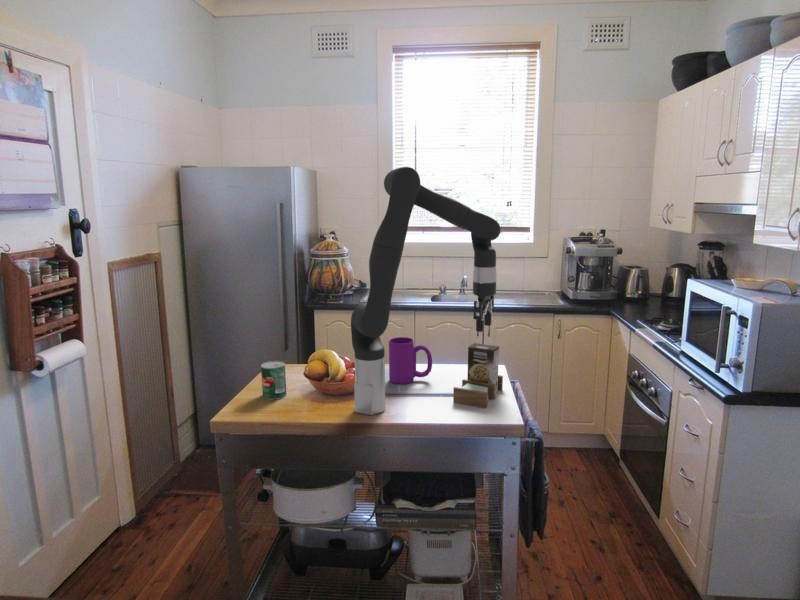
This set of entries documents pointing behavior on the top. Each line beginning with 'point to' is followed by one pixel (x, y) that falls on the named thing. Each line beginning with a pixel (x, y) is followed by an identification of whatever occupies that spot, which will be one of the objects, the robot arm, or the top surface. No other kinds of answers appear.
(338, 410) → the top surface
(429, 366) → the mug
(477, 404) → the rack
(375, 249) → the robot arm
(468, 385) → the offcut upper
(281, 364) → the canned tomato
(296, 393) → the top surface
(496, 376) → the coffee box
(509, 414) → the top surface
